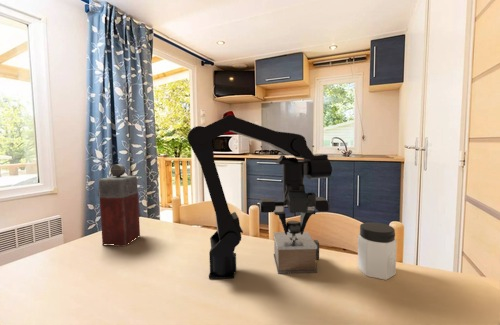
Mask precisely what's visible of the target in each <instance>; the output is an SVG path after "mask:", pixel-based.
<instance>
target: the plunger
mask: <svg viewBox="0 0 500 325" xmlns="http://www.w3.org/2000/svg"><path fill="white" fill-rule="evenodd" d="M286 226H287V232H288V233H291V234H292V240H295V234H298V233H300V232H301V223H300V220H299V221H298V220H287V221H286Z"/></svg>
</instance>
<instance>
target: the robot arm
mask: <svg viewBox="0 0 500 325" xmlns="http://www.w3.org/2000/svg"><path fill="white" fill-rule="evenodd" d="M228 132H230V133H234V134H237V135H239V136H243V137H245V138H249V139H252V140H255V141H258V142H261V143H264V144H267V145H269V146H271V147H272V148H274V149H276V150H277V151H279V152H281V153H282V154H284V155H282V154H281V155H280V157H279V158H277V159H276V160H275V164H278V165H282V194H283V195H282V200H277V201H276V200H275V199H274V197H262V198H260V200H259V208H260V213H263V214H264V213H265V214H266V213H273V214H274V215H275V216H278V217H279V220H280V223H281V225H282V230H283V232H285V235H287V225H286V223H287V220H286V212H285V209H288V212H289V213H291V214H295V213H300V218H299V219H300V220H299V222H300V223H301V232H300V234H301V235H302V234H303V232H305V229H306V226H307V223H308V221H309V219H310V218H311V216H312V215H316V211H318V212H330V209H331V208H330V206H331V205H330V202H329V200H327V199H326V198H324V196H316V193H315V192H306V191H305V189H306V188H305V182H304V181H305V180H304V179H305V178H307V179H308V180H313V179H314V180H315V179H328V178H330V177H331V175H332V172H333V167H332V164H331V163H332V162H330V159H329V156H328V154H327V153H326V154H324V153H321V154H317V155H315V154H313V152H312V151H311V149H310V148H309V147H308V145H307V140H306V137H305V136H304V135H302V134H299V133H291V132H285V131H277V130H273V129H271V128H267V127H265V126H261V125H259V124H257V123H256V124H255V123H253V122H250V121H247V120H245V119H241V118H239V117H237V116H235V115H233V114H227V115H226V116H224V117H222V118H221V119H218V120H216V121H214V122H212V123H210V124H208V125H205V126H201V125H200V126H199V125H197V126H193V127H192V128H191V129H190V130H189V132H188V135H187V141H188V144H189V145H190V148H191V149H192V151H193V154H194V156H195V157H196V160H197V161H198V163H199V164H200V168H201V171H202V173H203V177H204V181H205V184H206V186H207V187H206V188H207V190H208V194H209V197H210V200H211V203H212V206H213V209H214V212H215V224H216V231H215V232H214V233H213V234H212V235H211V236H210V238H209V240H210V241H209V242H210V250H209V256H208V257H209V274H208V279H211V280H212V279H214V280H215V279H234V278H235V273H237V253H236V252H235V249H236V247H238V245H239V244H240V242H241V241H242V234H243V233H244V231H243V229H242V227H241V224H240V219H239V218H240V217H239V216H238V213H236V211H234V212H231V210H229V209H230V208H229V206H228V205H229V204H228V202H227V199H226V195H225V191H224V189H223V186H222V182H221V179H220V176H219V173H218V168H217V165H216V162H215V153H214V144H213V140H215V139H217V138H218V137H221V136H223V135H224V134H226V133H228ZM285 155H287V156H293V157H286V156H285ZM298 159H303V160H298ZM315 209H316V210H315Z"/></svg>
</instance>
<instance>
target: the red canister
mask: <svg viewBox="0 0 500 325" xmlns="http://www.w3.org/2000/svg"><path fill="white" fill-rule="evenodd" d="M110 173H111V175H112V176H109V177H108V176H107V177H103V178H100V179H99V180H98V196H99V197H98V198H99V210H100V224H101V226H100V227H101V239H102V240H101V241H102V245H103V244H114V245H127V244H128V243H130V242H131V241H132V240H134V239H135V238H137V237H138V236H140V237H141V228H140V203H139V202H140V200H139V191H138V190H139V189H138V178H137V176H135V175H124V174H125V173H126V168H125V166H124V165H123V164H121V163H118V164H116V163H115V164H113V165H111V168H110ZM137 239H138V238H137ZM134 241H135V240H134ZM131 243H132V242H131ZM131 243H130V244H131ZM128 245H129V244H128ZM128 245H127V246H128Z"/></svg>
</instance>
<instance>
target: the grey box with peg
mask: <svg viewBox="0 0 500 325" xmlns="http://www.w3.org/2000/svg"><path fill="white" fill-rule="evenodd" d="M273 238H274V240H273V242H274V244H273V245H274V247H273V248H274V249H273V250H274V251H273V252H274V253H273V258H274V262H275V267H276V271H277V274H318V269H317V261H320V242H319V241H318V240H315V239H313V238H312V236H311V235H310V233H309V232H308V231H304V232H303V234H302V235H301V234H300V233H298V234H295V240H292V234H291V233H288V232H287V235H285V232H284V231H283V232H276V231H275V232H273Z"/></svg>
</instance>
